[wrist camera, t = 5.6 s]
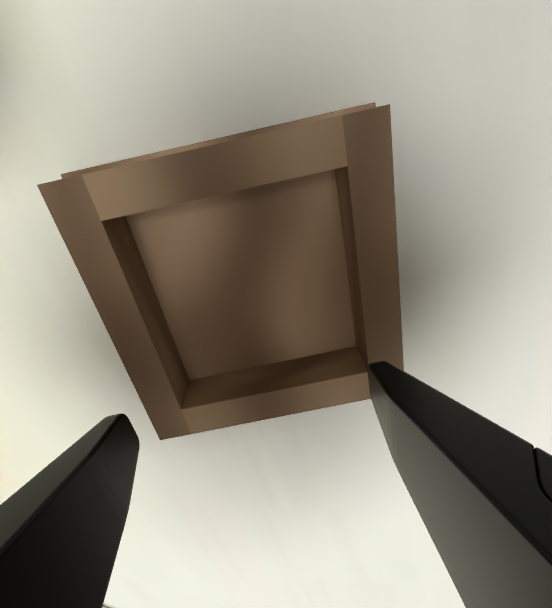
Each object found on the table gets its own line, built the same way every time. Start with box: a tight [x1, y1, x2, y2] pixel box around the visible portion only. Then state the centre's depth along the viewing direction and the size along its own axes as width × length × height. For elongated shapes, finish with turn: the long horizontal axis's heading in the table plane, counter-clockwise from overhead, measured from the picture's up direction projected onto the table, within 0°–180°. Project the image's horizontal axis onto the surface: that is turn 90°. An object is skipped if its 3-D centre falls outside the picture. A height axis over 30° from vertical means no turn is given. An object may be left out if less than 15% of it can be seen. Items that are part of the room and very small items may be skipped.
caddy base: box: [37, 102, 404, 440], centre depth 14 cm, size 12×12×2 cm
